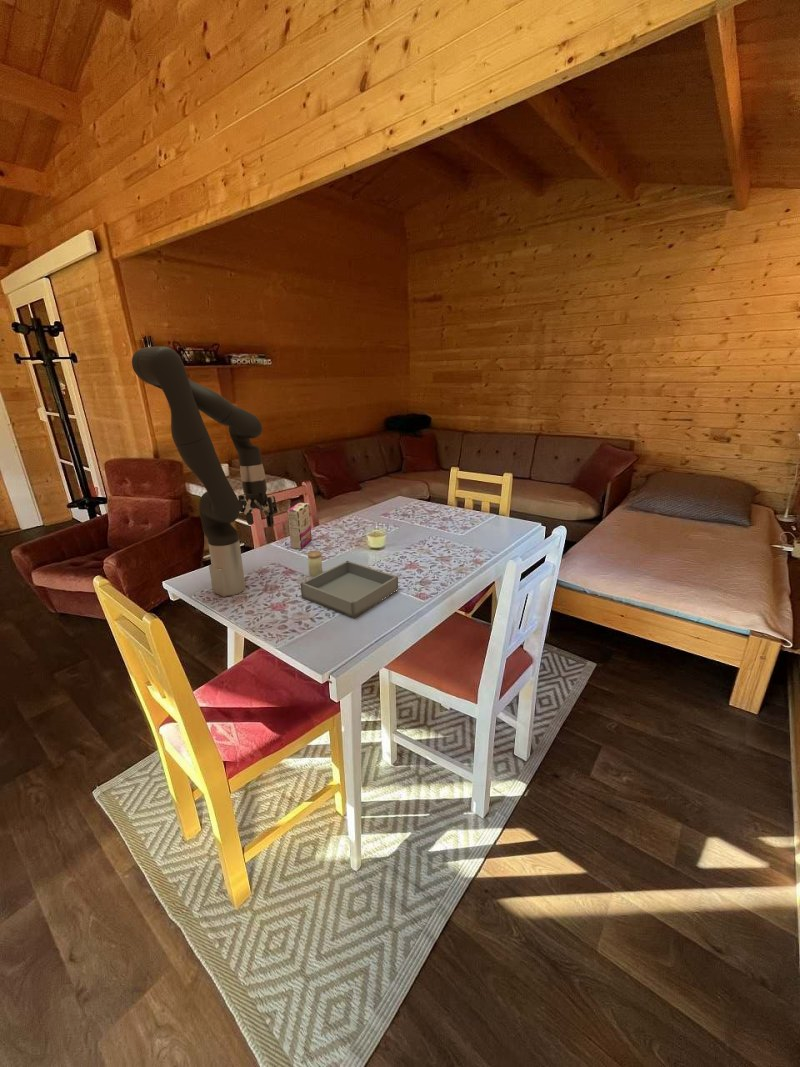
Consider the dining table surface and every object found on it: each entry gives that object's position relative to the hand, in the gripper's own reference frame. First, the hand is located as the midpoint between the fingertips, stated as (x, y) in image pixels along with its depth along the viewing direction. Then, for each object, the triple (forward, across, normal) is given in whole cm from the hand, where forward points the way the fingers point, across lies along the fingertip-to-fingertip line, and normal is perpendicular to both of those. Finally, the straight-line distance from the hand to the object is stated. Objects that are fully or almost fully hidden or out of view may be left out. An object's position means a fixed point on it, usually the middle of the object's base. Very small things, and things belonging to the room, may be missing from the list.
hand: (260, 525), depth 152 cm
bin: (+21, +33, 0) cm, 39 cm away
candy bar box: (+18, -8, +30) cm, 36 cm away
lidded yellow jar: (+20, +14, +8) cm, 25 cm away
